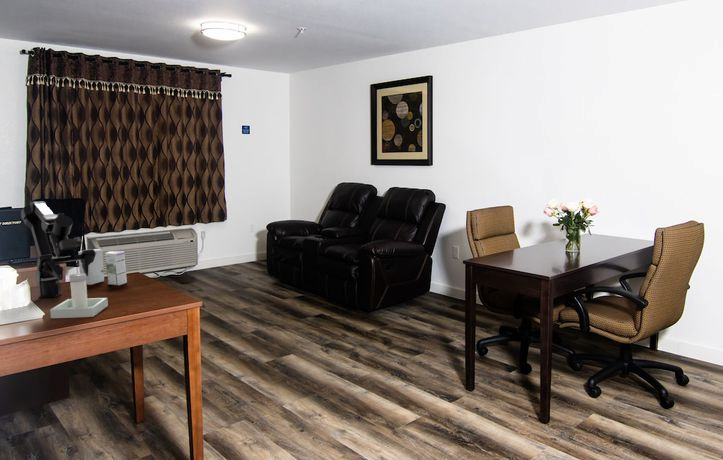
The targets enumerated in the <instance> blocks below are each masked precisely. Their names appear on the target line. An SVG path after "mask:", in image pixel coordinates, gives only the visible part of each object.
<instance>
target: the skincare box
mask: <svg viewBox="0 0 723 460" xmlns="http://www.w3.org/2000/svg"><path fill="white" fill-rule="evenodd" d="M92 249H93V250H94V251H95V253H96V255H95V258H94V261H93V262H92V263H91V264H90V265H89V267H88V276H86V286H91V285H95V284H98V283H102V282H105V274H104V260H103V259H104V258H103V249H99V248H98V249H94V248H92ZM82 251H83V250H80V251H78V254H77V255H80V254H82ZM78 267H79V274H80V273H84V274H85V272H84V270H83V267H82V263H81V260H78Z"/></svg>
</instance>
